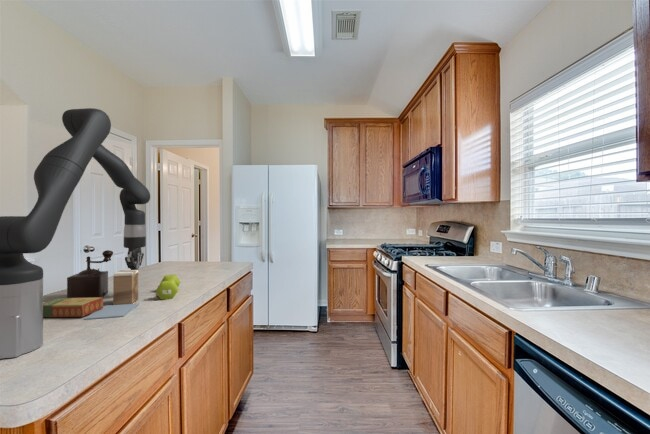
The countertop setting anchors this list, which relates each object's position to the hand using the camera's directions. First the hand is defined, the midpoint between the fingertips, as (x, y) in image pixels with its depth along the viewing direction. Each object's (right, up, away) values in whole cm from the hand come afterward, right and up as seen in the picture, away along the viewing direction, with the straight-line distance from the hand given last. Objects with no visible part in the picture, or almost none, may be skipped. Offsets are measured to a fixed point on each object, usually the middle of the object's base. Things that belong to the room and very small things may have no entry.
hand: (134, 277), depth 114 cm
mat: (+5, -8, -17) cm, 20 cm away
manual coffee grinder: (-19, -8, +2) cm, 21 cm away
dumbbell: (+12, -8, +4) cm, 15 cm away
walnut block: (+2, -8, -8) cm, 11 cm away
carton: (-8, -8, -20) cm, 23 cm away
